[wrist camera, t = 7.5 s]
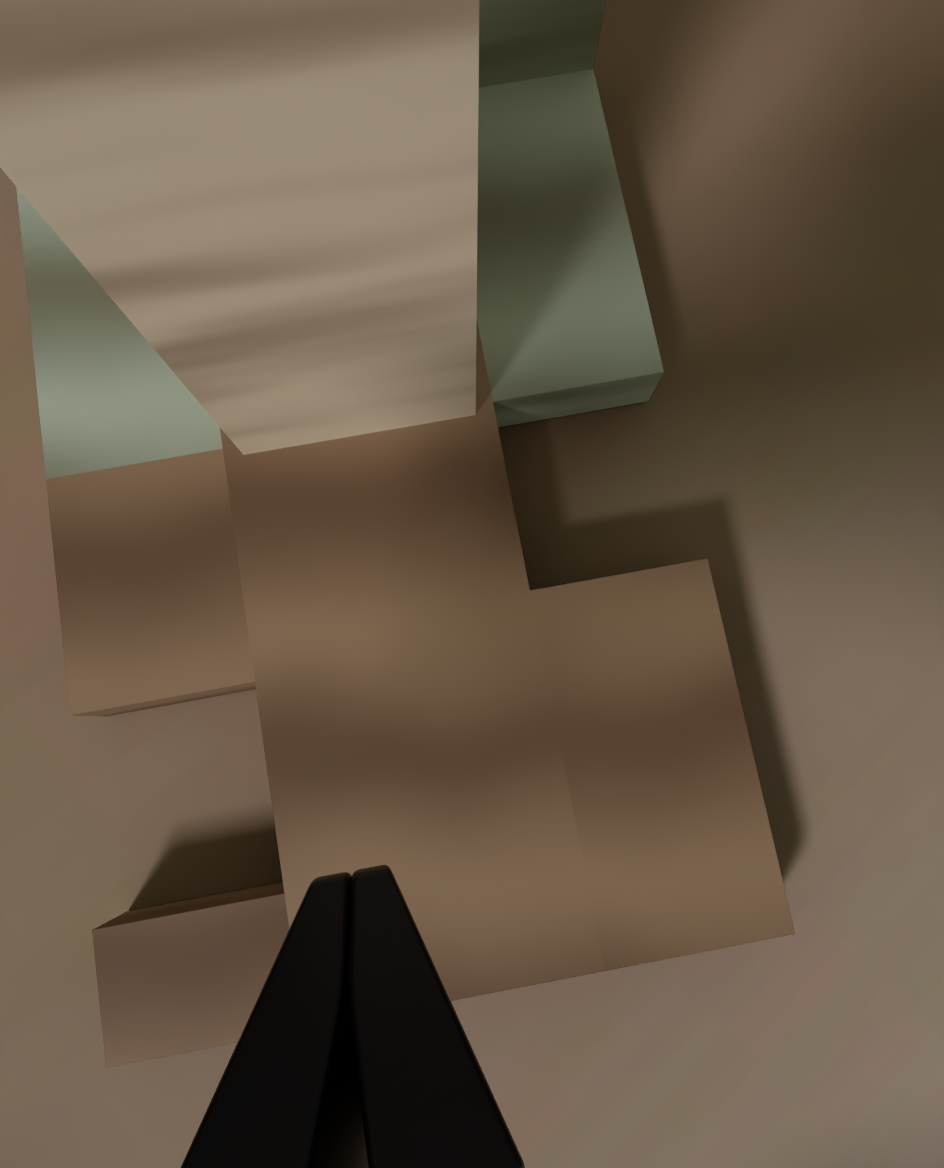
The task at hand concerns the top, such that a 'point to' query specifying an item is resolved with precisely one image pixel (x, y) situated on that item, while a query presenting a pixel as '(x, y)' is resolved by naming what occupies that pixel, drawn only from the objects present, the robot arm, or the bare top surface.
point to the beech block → (265, 195)
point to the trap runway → (412, 614)
